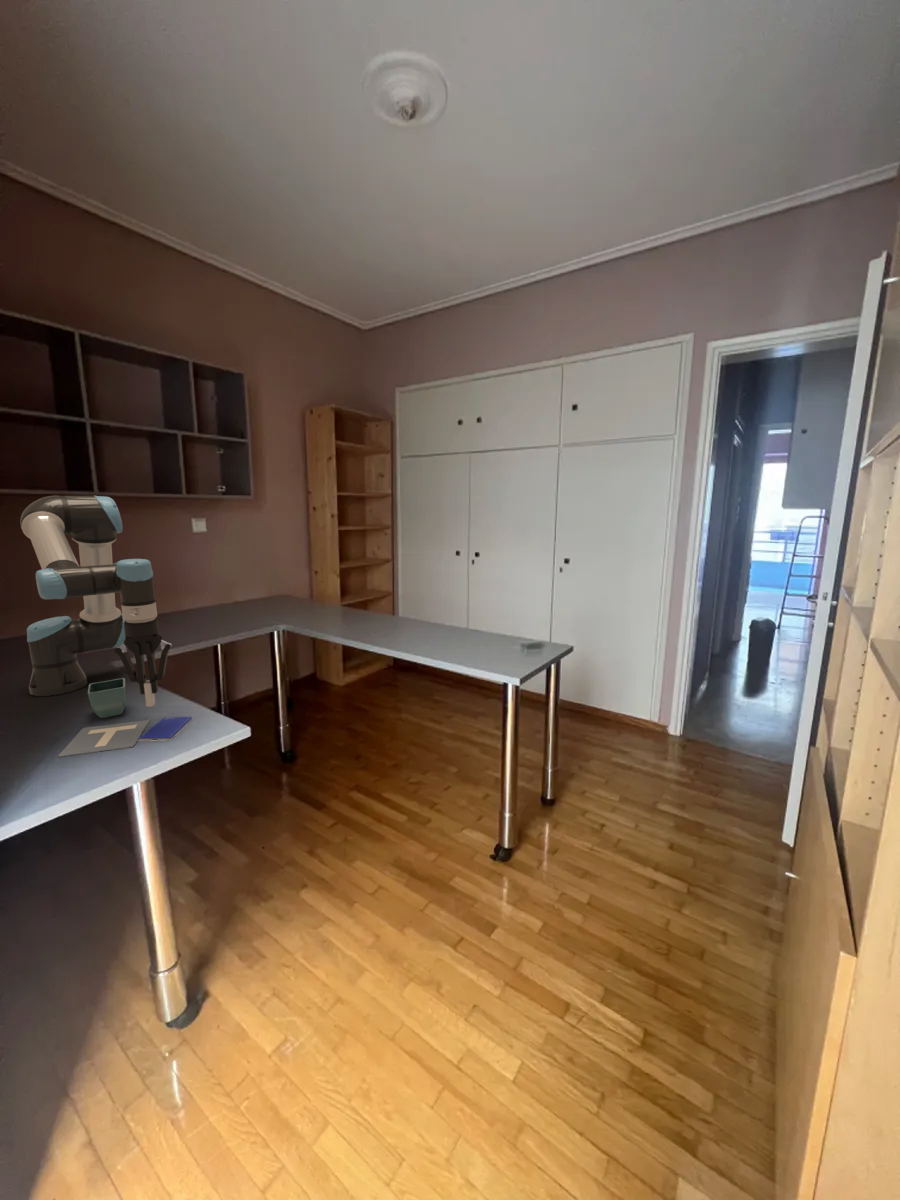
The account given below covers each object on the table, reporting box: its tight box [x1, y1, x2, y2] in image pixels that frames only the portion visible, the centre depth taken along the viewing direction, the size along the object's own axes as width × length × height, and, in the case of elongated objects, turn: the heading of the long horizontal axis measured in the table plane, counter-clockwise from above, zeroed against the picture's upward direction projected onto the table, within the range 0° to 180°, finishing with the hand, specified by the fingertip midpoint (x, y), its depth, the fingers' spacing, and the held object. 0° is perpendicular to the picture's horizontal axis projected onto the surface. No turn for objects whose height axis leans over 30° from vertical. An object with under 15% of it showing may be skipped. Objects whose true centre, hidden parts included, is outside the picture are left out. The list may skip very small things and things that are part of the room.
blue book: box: [137, 716, 193, 742], centre depth 132 cm, size 2×8×12 cm
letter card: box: [57, 719, 151, 758], centre depth 128 cm, size 16×16×1 cm
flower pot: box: [87, 677, 127, 719], centre depth 142 cm, size 9×9×9 cm
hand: (150, 704), depth 130 cm, fingers closed
